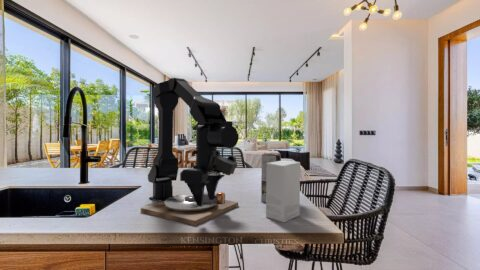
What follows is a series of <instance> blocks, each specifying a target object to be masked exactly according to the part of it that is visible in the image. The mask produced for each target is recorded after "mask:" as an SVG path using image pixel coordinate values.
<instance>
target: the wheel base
mask: <svg viewBox="0 0 480 270" xmlns="http://www.w3.org/2000/svg"><path fill="white" fill-rule="evenodd" d="M237 207H239V201H232V200H228V199H225V204H217V205H216V206H215V207H213V208H210V209H206V210H201V211H191V212H183V211H174V210H170V209H167V208H166V207H165V201H158V202H156V203H153V204H150V205H146V206H143V207H140V213H144V214H146V215H150V216H151V215H152V216H155V217H159V218H164V219H167V220H170V221H171V220H172V221H175V222H180V223H183V224H188V225H191V226H197V225H200V224H202V223H205V222H206V221H208V220H210V219H213V218H214V217H217V216H219V215H221V214H223V213H226V212H228V211H230V210H233V209H234V208H237Z"/></svg>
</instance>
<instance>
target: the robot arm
mask: <svg viewBox="0 0 480 270" xmlns="http://www.w3.org/2000/svg"><path fill="white" fill-rule="evenodd" d="M152 97H153V103H154V105H155V107H156V108H157V110H158V127H157V128H158V132H157V135H158V136H157V137H158V138H157V139H158V140H157V147H158V148H157V149H158V150H157V153H156V155H155V156H154V158H153V159H152V160H153V161H152V166H151V168H150V170H149V172H148V174H147V180H148V183H151V184H152V196H150V197H149V200H154V201H158V202H163V201H165V200H166V199H167V198H169V197H172V196H174V195H173V194H174V192H173V191H174V190H173V189H174V188H173V187H174V186H173V181H177V177H178V174H179V181H180V182H184V183H185V184H186V185H187V188H188V189H189V191H190V194H192V195H193V197H194V199H195V201H196V203H197V205H198V206H202V202H203V195H204V193H205V188H206V193H208V197H209V199H210V200H213V198H214V195H215V194H216V190H217V187H218V184H219V182H220V181H221V179H222V178H224V177H225V176H231V175H233V174H235V173H234V172H235V170H236V168H238V162H237V157H236V156H234V155H228V157H226V156H222V155H221V151H220V149H219V150H218V149H217V148H222V149H223V148H224V149H232V148H234V147H236V145H237V143H238V141H239V133H238V131H237V129H236V127H234V126H233V121H227V119H226V117H225V115H224V113H223V111H222V108H221V106H220V104H219V103H217V102H216V101H214V100H212V99H209V98H206V97H204V96H202V95H201V94H200V93H199V92H198V91H197V90H196V89H195V88H194V87H193V86H192V85H190V84H189V83H188V81H187V80H186V79H184V78H180V77H171V78H169V79H167V80H165V81H161V82H159V83H158V84H156V85H155V86H154V87H153V88H152ZM179 99H181V100H182V101H183V102H184V103H185V104H186V105H187V106H188V107H189V114H190V116H191V117H192V119H193V120H194V121H195V122H196V124H195V125H194V126H193V127H192V130H193V131H196V132H195V133H196V135H195V136H196V138H195V139H196V142H195V146H196V147H195V150H193V151H192V152H193V153H192V154H193V155H195V164H193V165H192V168H190V167H188V168H185V169H183V170H182V171H181V172H180V173H179V158H178V157H176V155H175V154H174V150H173V149H174V148H173V147H174V145H173V143H174V111H175V109H176V108H177V106H178V104H179ZM221 173H222V174H221Z"/></svg>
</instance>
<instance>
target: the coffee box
mask: <svg viewBox="0 0 480 270" xmlns="http://www.w3.org/2000/svg"><path fill="white" fill-rule="evenodd" d="M277 161H282V153H279V152H278V153H276V152H275V153H273V152H272V153H271V152H270V153H266V152H265V153H263V154H262V155H261V178H260V179H261V180H260V181H261V182H260V183H261V184H260V185H261V187H260V190H261V191H260V192H261V194H260V196H261V197H260V201H261V202H262V203H266V165H267V164H266V163H271V162H277Z"/></svg>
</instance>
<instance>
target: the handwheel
mask: <svg viewBox="0 0 480 270" xmlns="http://www.w3.org/2000/svg"><path fill="white" fill-rule="evenodd" d="M225 200H226V193H225V192H223V191H222V192H219V191H218V192H216V193H215V195H214V198H213V200H210V199H209V197H208V193H207V192H204V195H203V202H202V206H198V205H197V203H196V201H195V199H194V197H193V195H192V193H185V194H178V195H173V196H172V197H169V198H167V199H166V200H165V207H166V208H167V209H170V210H174V211H183V212H191V211H201V210H206V209H210V208H213V207H215V206H216V205H217V204H225Z"/></svg>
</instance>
